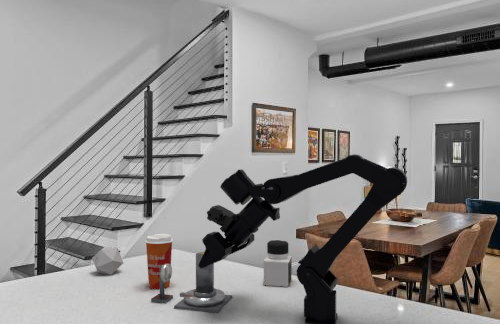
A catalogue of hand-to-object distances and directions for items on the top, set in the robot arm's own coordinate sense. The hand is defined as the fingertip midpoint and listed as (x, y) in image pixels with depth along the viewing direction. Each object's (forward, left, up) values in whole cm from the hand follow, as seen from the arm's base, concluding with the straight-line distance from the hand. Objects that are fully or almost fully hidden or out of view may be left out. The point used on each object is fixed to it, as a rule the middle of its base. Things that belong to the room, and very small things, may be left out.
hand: (208, 262), depth 104 cm
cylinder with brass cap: (+1, 0, -8) cm, 8 cm away
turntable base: (+1, 0, -10) cm, 10 cm away
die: (+40, -17, -10) cm, 45 cm away
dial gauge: (+12, +1, -10) cm, 16 cm away
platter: (+2, 0, -9) cm, 10 cm away
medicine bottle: (-13, -21, -10) cm, 27 cm away
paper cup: (+18, -9, -10) cm, 23 cm away
